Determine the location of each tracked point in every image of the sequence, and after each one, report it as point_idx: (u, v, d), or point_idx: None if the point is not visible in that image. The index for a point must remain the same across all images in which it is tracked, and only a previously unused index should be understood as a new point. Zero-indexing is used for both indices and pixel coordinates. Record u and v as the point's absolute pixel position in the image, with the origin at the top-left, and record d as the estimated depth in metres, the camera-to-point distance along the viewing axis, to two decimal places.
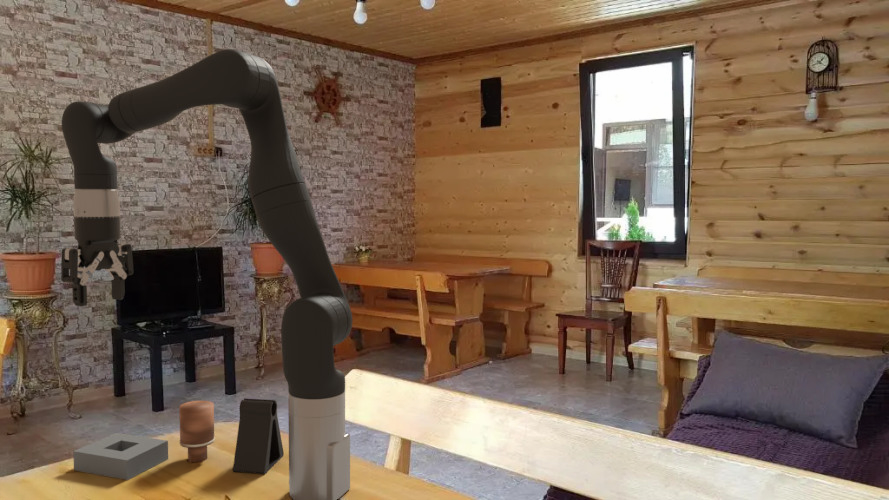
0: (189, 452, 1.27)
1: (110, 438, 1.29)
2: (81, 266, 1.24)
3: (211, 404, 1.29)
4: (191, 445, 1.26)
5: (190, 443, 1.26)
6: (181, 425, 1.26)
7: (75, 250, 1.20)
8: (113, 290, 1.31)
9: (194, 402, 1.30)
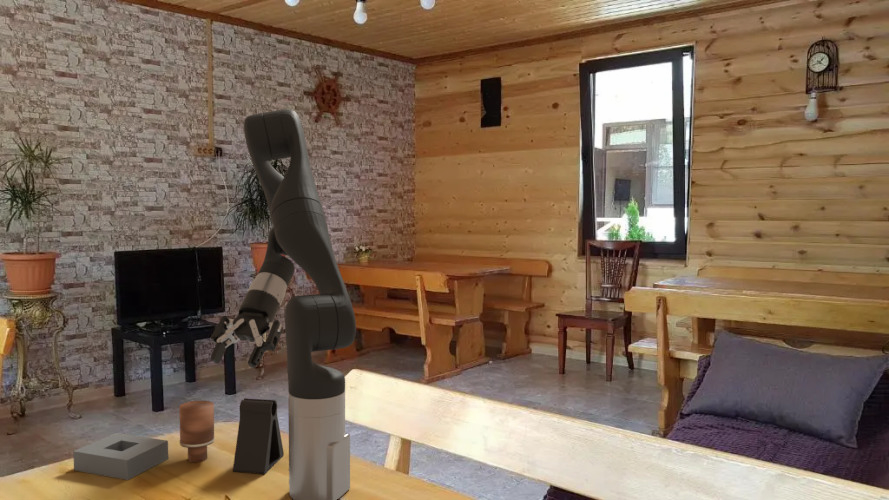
0: (189, 452, 1.27)
1: (110, 438, 1.29)
2: (237, 337, 1.44)
3: (211, 404, 1.29)
4: (191, 445, 1.26)
5: (190, 443, 1.26)
6: (181, 425, 1.26)
7: (225, 316, 1.45)
8: None
9: (194, 402, 1.30)
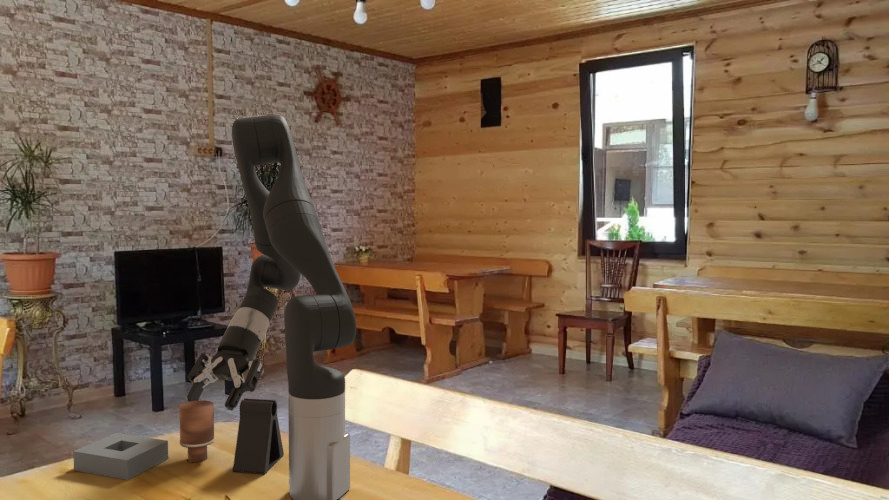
0: (189, 452, 1.27)
1: (110, 438, 1.29)
2: (216, 376, 1.37)
3: (211, 404, 1.29)
4: (191, 445, 1.26)
5: (190, 443, 1.26)
6: (181, 425, 1.26)
7: (203, 354, 1.39)
8: None
9: (194, 402, 1.30)
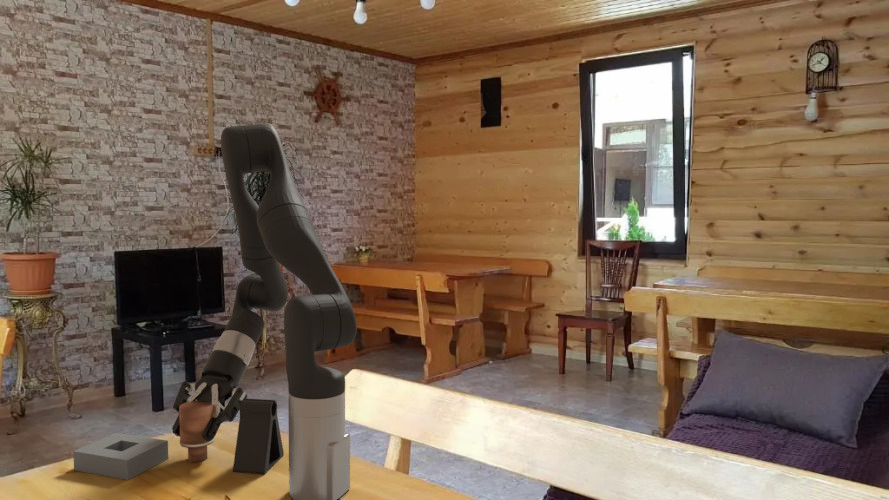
0: (189, 452, 1.27)
1: (110, 438, 1.29)
2: None
3: (211, 404, 1.29)
4: (191, 445, 1.26)
5: (190, 443, 1.26)
6: (181, 425, 1.26)
7: (185, 382, 1.34)
8: None
9: (194, 402, 1.30)
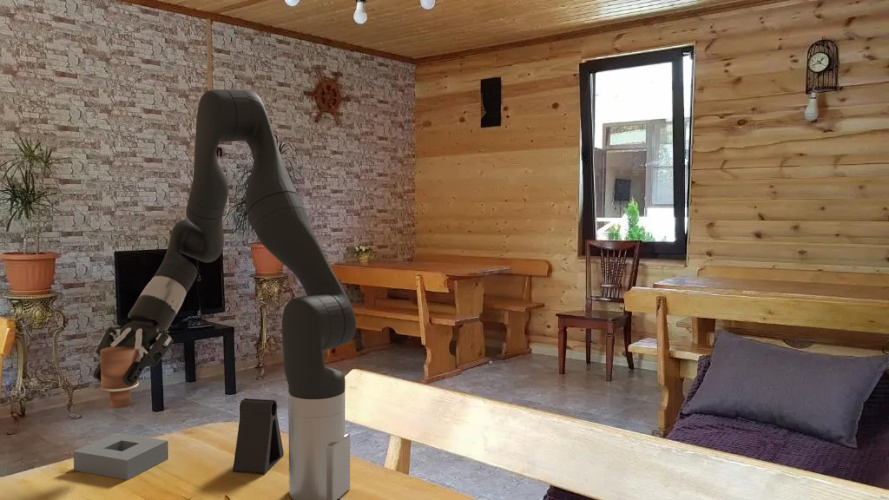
0: (111, 397, 1.23)
1: (110, 438, 1.29)
2: None
3: (134, 348, 1.25)
4: (111, 389, 1.22)
5: (111, 387, 1.22)
6: (101, 369, 1.22)
7: (110, 327, 1.30)
8: None
9: (117, 347, 1.26)
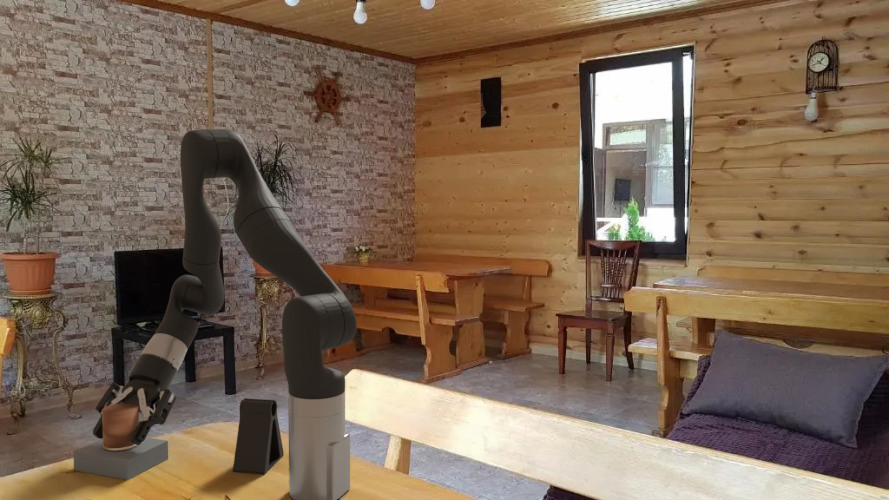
0: None
1: None
2: None
3: (136, 407, 1.26)
4: (113, 449, 1.23)
5: (112, 446, 1.23)
6: (103, 428, 1.23)
7: (114, 383, 1.31)
8: None
9: (119, 405, 1.27)
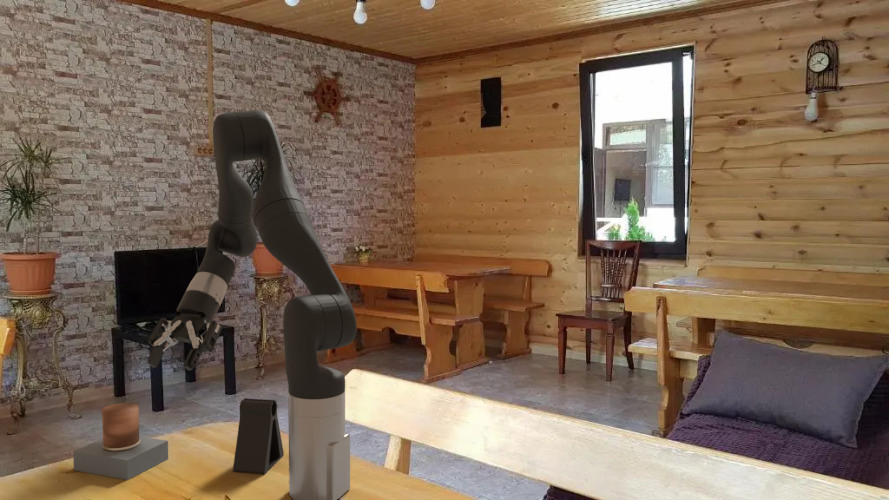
0: None
1: None
2: (176, 339, 1.41)
3: (136, 407, 1.26)
4: (113, 449, 1.23)
5: (112, 446, 1.23)
6: (103, 428, 1.23)
7: (162, 318, 1.42)
8: None
9: (119, 405, 1.27)
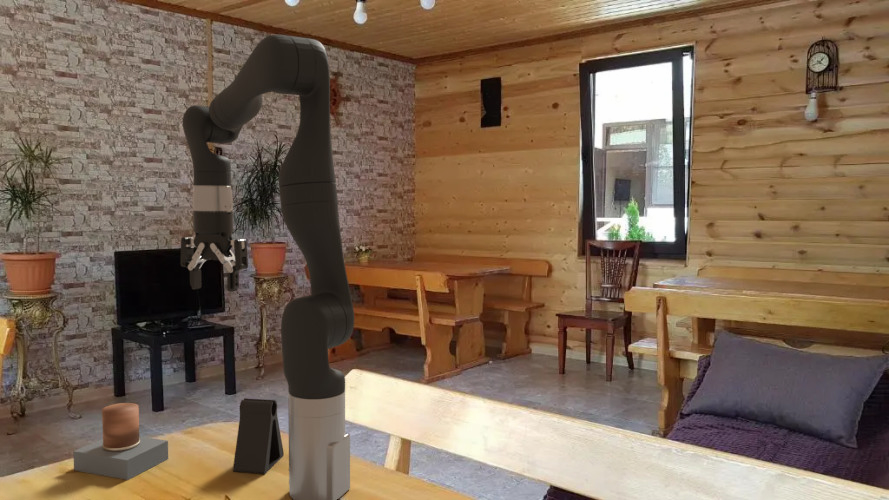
0: None
1: None
2: None
3: (136, 407, 1.26)
4: (113, 449, 1.23)
5: (112, 446, 1.23)
6: (103, 428, 1.23)
7: (183, 238, 1.38)
8: None
9: (119, 405, 1.27)
